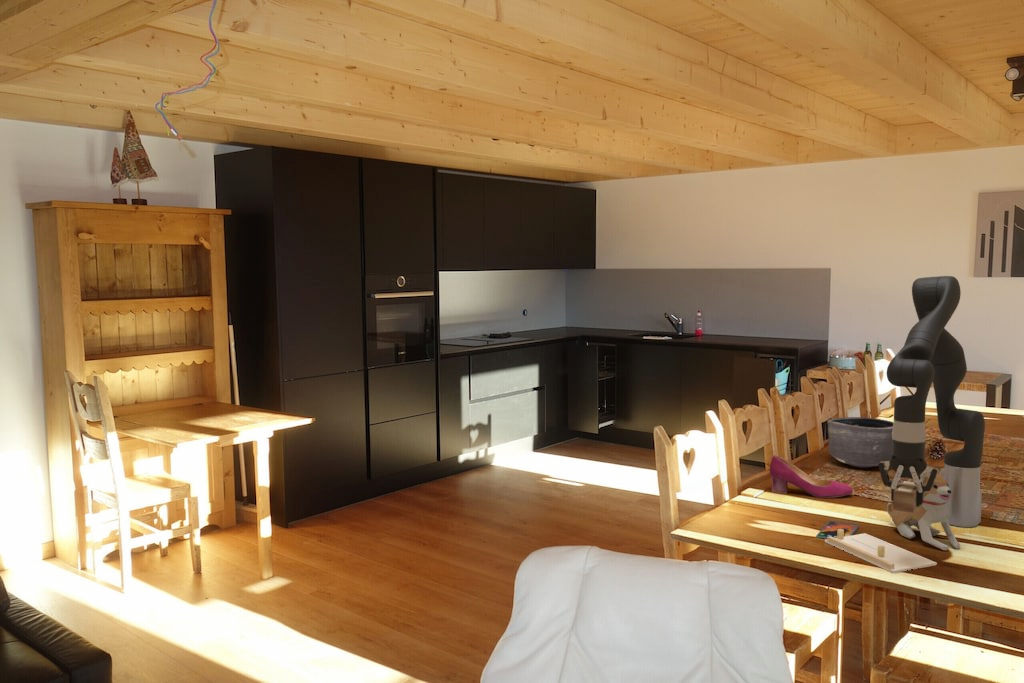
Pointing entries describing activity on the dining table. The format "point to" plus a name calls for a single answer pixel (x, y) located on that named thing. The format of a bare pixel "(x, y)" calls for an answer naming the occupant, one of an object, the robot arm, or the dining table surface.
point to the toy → (927, 513)
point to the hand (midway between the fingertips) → (906, 504)
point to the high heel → (803, 481)
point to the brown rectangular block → (905, 497)
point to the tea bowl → (860, 440)
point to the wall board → (889, 554)
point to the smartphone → (833, 526)
